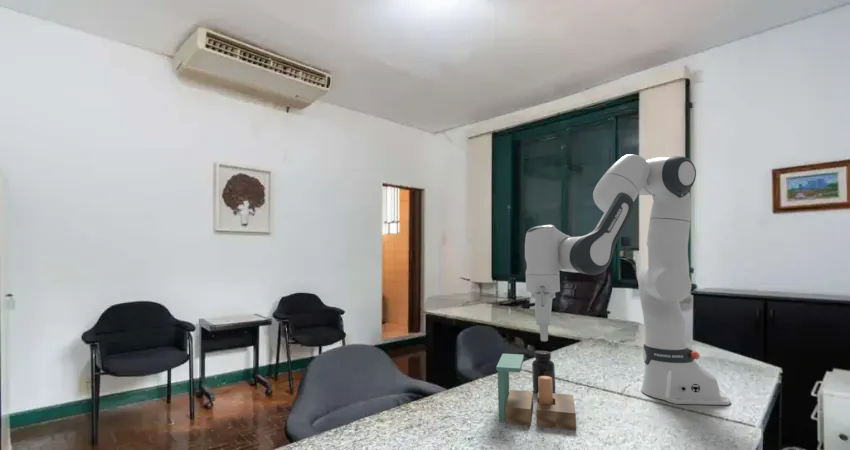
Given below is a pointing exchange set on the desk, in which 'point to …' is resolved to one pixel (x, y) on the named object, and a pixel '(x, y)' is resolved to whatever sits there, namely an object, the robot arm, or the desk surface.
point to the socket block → (541, 410)
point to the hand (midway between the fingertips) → (544, 337)
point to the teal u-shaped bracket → (506, 378)
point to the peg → (545, 390)
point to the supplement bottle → (542, 368)
